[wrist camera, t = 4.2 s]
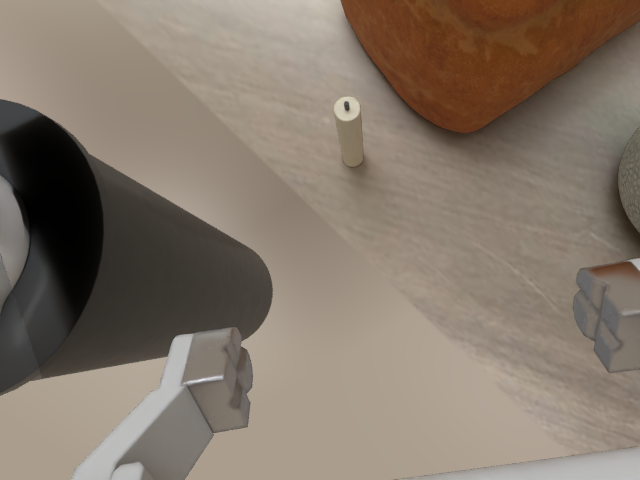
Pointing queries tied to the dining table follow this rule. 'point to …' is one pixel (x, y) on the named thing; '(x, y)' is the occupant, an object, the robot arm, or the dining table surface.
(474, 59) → the bread
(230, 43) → the dining table surface
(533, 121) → the dining table surface
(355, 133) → the candle
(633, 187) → the planter
